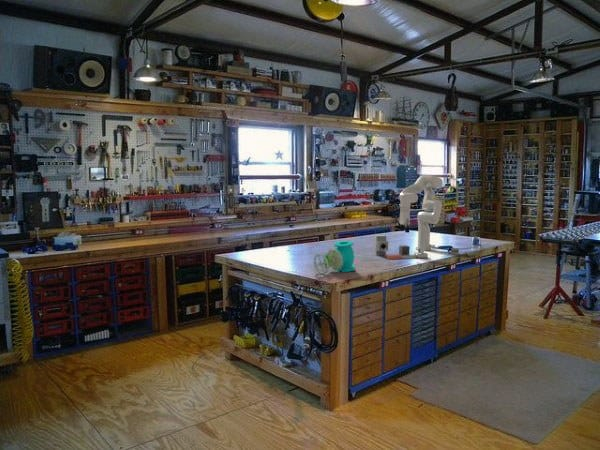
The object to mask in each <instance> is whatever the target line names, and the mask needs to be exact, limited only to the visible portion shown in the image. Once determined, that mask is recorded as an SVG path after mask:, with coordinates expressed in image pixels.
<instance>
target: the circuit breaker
mask: <svg viewBox="0 0 600 450" xmlns="http://www.w3.org/2000/svg"><path fill="white" fill-rule="evenodd" d="M372 239H373V247H372V251H373V253H372V254H373V255H375V256H385V255H387V253H386V252H389V240H387V235H384V234H374V235H373V238H372Z"/></svg>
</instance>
